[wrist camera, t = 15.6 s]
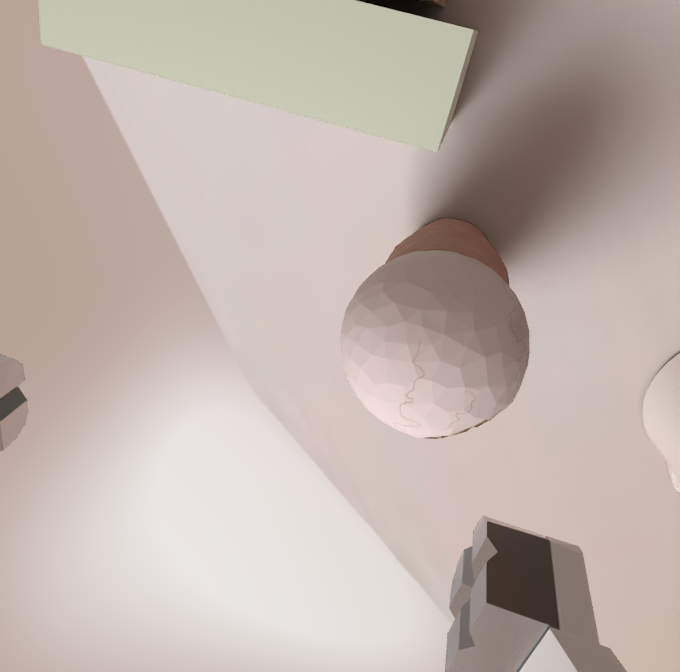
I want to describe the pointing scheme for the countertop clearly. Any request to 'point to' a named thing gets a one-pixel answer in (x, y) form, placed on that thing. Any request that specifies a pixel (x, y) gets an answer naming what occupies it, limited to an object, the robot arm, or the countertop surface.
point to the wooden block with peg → (435, 2)
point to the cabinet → (285, 56)
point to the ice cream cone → (436, 334)
